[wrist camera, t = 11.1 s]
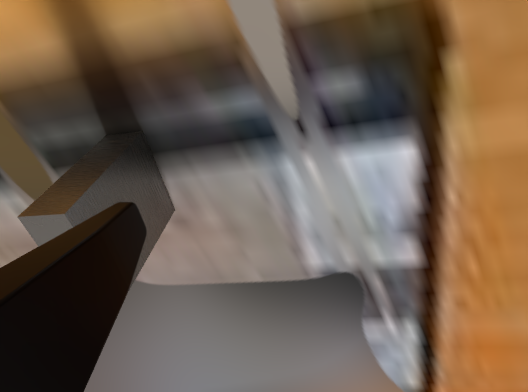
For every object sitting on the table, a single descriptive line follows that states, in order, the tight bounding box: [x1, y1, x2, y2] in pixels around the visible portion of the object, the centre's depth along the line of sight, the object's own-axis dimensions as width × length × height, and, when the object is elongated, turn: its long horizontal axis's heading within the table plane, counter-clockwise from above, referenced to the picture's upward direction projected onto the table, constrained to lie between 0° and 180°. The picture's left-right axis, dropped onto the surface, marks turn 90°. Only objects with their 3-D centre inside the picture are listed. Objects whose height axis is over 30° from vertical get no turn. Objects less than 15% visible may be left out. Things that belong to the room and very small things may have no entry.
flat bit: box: [18, 131, 175, 291], centre depth 21 cm, size 2×6×8 cm, turn 11°
